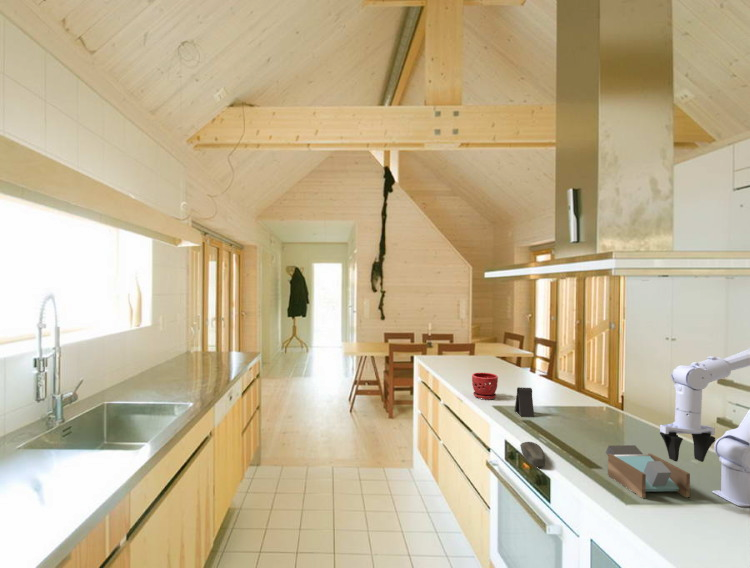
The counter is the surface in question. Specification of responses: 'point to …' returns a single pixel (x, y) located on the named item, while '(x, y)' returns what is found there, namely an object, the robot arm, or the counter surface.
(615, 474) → the stand
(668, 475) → the slate block
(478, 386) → the plant pot
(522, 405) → the phone stand
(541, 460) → the decorative stone
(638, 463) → the trapdoor flap
